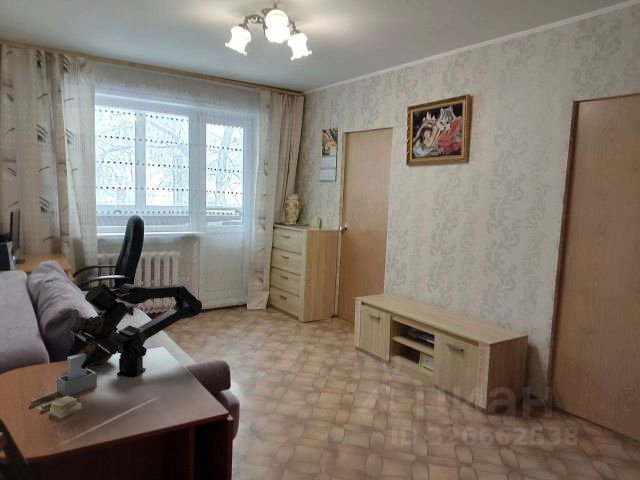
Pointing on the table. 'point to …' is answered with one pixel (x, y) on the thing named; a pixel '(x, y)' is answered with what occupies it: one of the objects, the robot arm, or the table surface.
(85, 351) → the rock
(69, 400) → the rack
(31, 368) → the table surface
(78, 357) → the panel
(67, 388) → the holder
